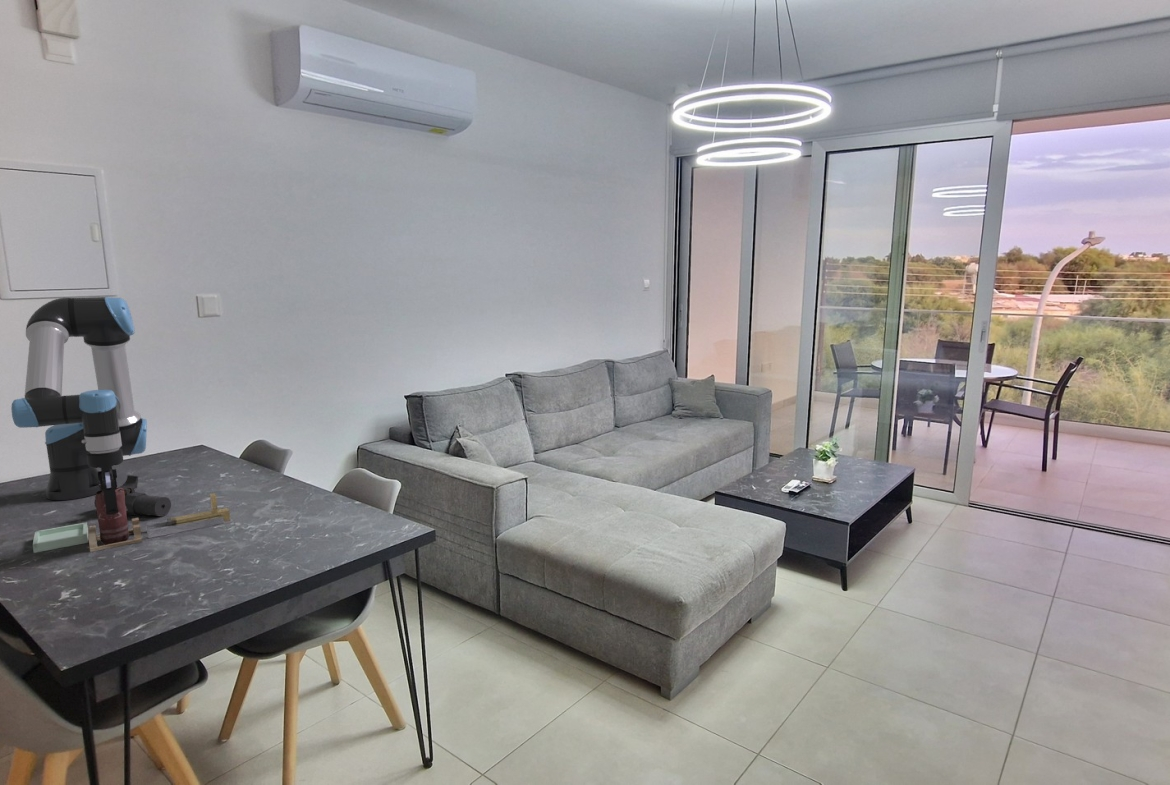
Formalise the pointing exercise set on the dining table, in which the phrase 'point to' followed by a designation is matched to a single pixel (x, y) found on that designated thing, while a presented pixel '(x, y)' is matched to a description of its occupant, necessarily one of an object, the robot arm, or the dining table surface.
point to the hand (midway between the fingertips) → (115, 535)
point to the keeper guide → (180, 526)
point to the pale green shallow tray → (60, 537)
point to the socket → (94, 538)
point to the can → (112, 519)
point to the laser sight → (142, 500)
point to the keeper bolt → (202, 514)
